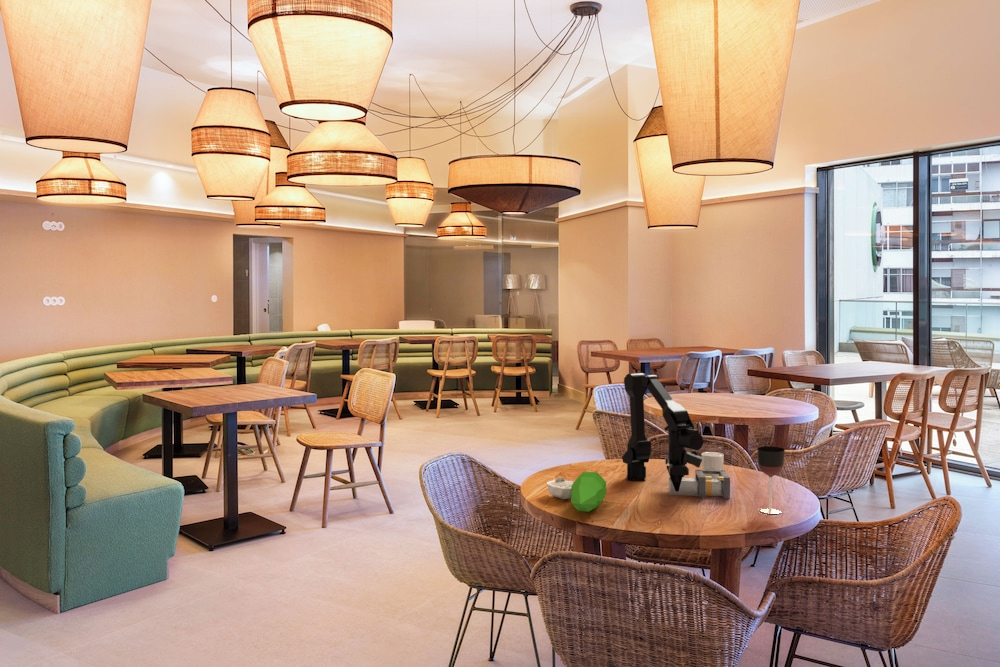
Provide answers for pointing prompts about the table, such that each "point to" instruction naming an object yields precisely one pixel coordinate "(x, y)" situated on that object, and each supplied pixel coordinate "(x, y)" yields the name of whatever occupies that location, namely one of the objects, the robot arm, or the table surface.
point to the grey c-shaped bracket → (703, 478)
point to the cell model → (560, 488)
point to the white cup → (712, 462)
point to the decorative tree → (588, 491)
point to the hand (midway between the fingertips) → (676, 489)
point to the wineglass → (770, 468)
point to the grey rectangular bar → (697, 487)
